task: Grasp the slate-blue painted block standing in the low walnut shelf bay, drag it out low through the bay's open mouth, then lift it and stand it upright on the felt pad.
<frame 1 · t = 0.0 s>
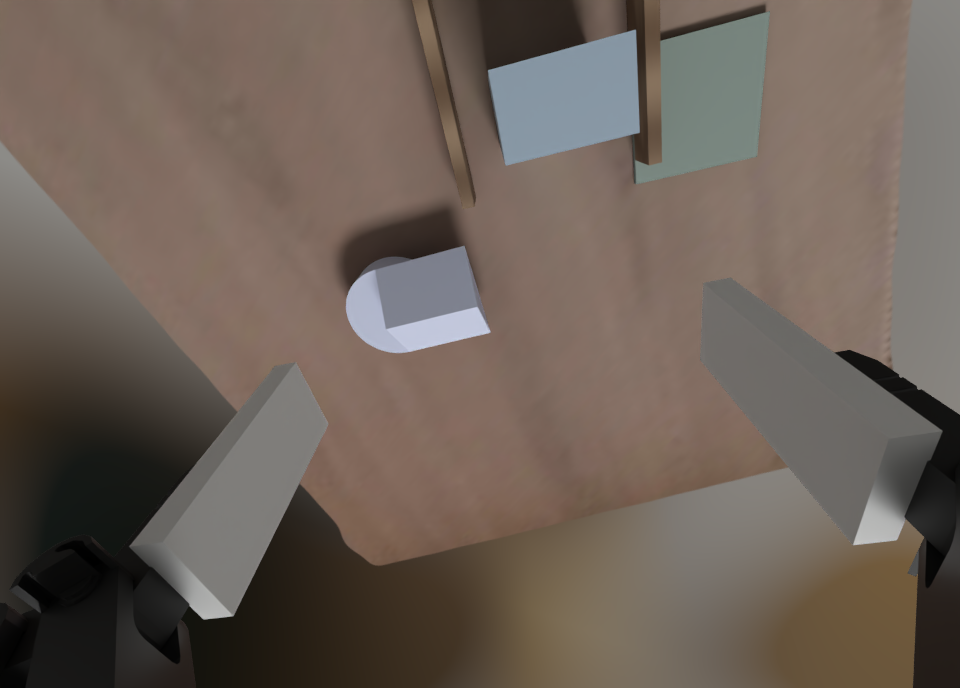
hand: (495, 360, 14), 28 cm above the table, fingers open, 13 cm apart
wedge on round base: (418, 293, 43), on the table
felt pad: (694, 105, 34), on the table
shelf bay: (538, 74, 33), on the table
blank: (542, 102, 34), on the table
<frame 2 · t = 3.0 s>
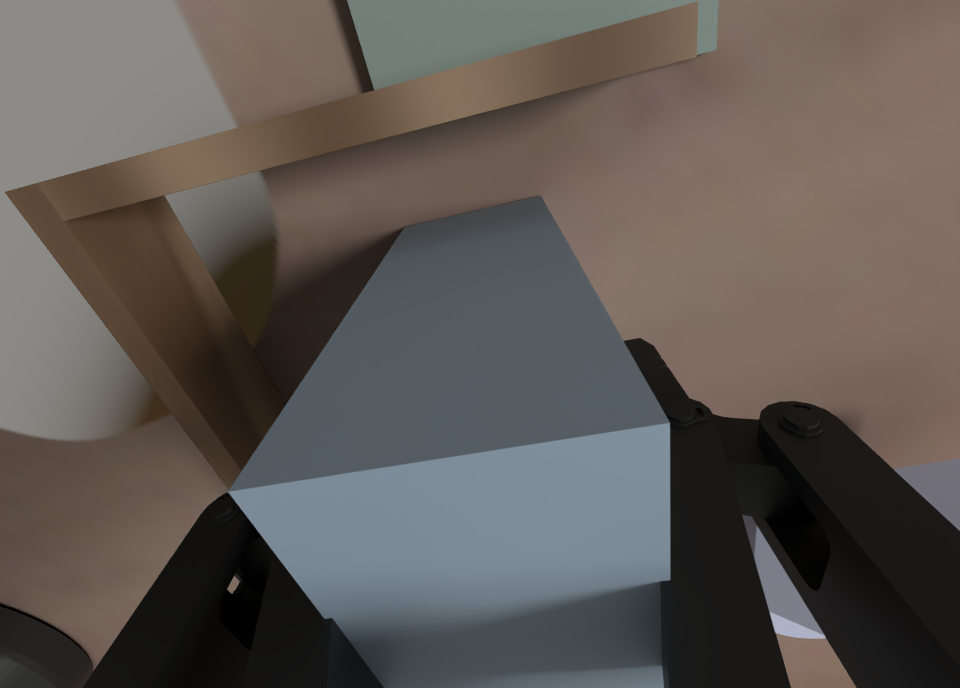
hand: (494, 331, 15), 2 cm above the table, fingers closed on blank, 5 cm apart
wedge on round base: (804, 504, 23), on the table
shelf bay: (446, 320, 17), on the table
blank: (494, 310, 17), on the table, touching gripper
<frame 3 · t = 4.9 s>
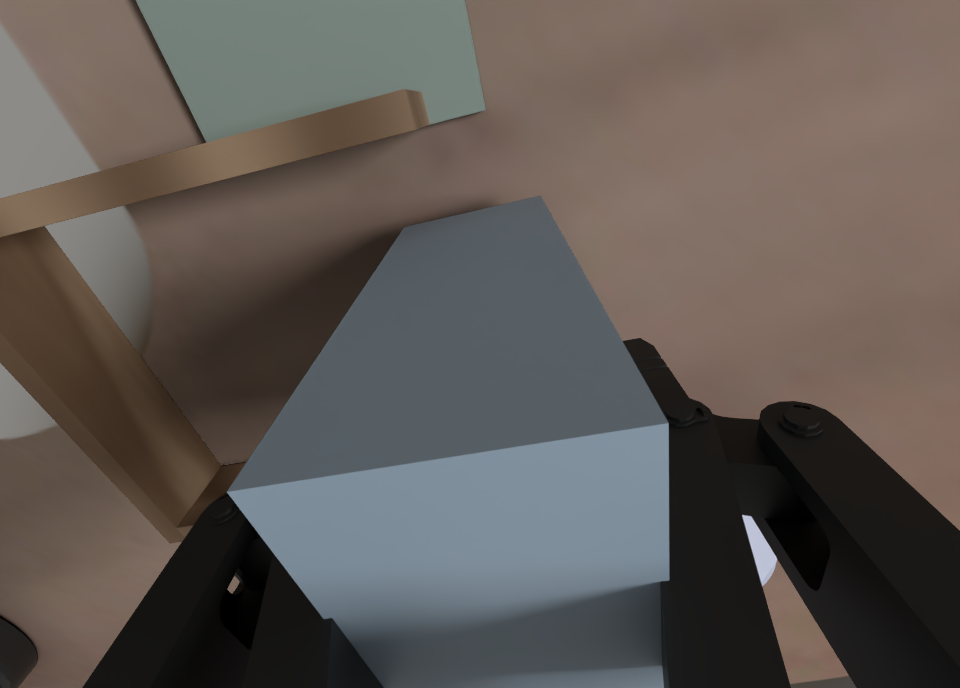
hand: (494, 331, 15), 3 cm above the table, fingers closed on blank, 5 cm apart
wedge on round base: (662, 496, 25), on the table
shelf bay: (307, 332, 19), on the table
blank: (493, 310, 17), point 2 cm above the table, touching gripper
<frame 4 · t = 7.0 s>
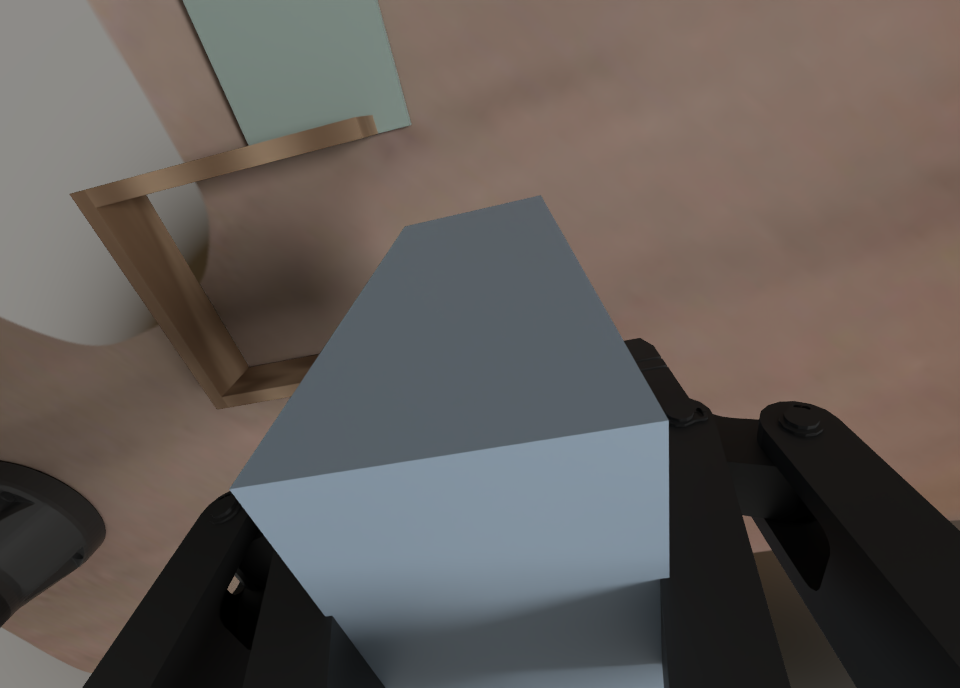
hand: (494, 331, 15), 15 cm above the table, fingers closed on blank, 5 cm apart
felt pad: (299, 48, 23), on the table
shelf bay: (307, 267, 30), on the table
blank: (494, 310, 17), point 13 cm above the table, touching gripper
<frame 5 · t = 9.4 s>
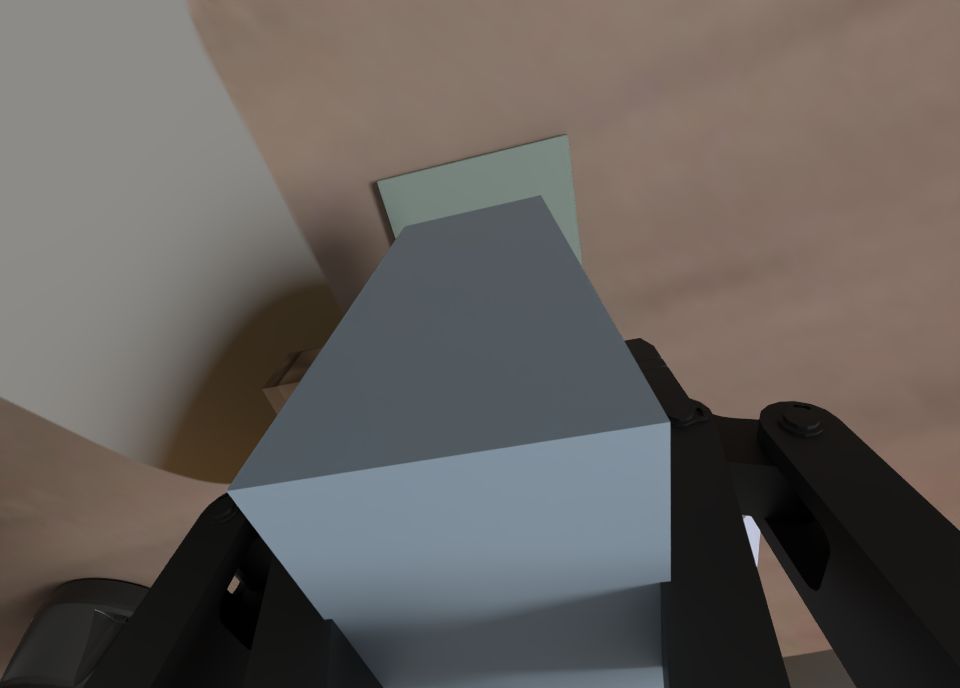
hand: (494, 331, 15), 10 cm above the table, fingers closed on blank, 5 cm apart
wedge on round base: (680, 520, 36), on the table
felt pad: (490, 249, 24), on the table
shelf bay: (457, 421, 31), on the table
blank: (494, 310, 17), point 8 cm above the table, touching gripper
when the fingers open (2 cm above the table, at t = 11.1 s): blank stays where it is, resting on felt pad.
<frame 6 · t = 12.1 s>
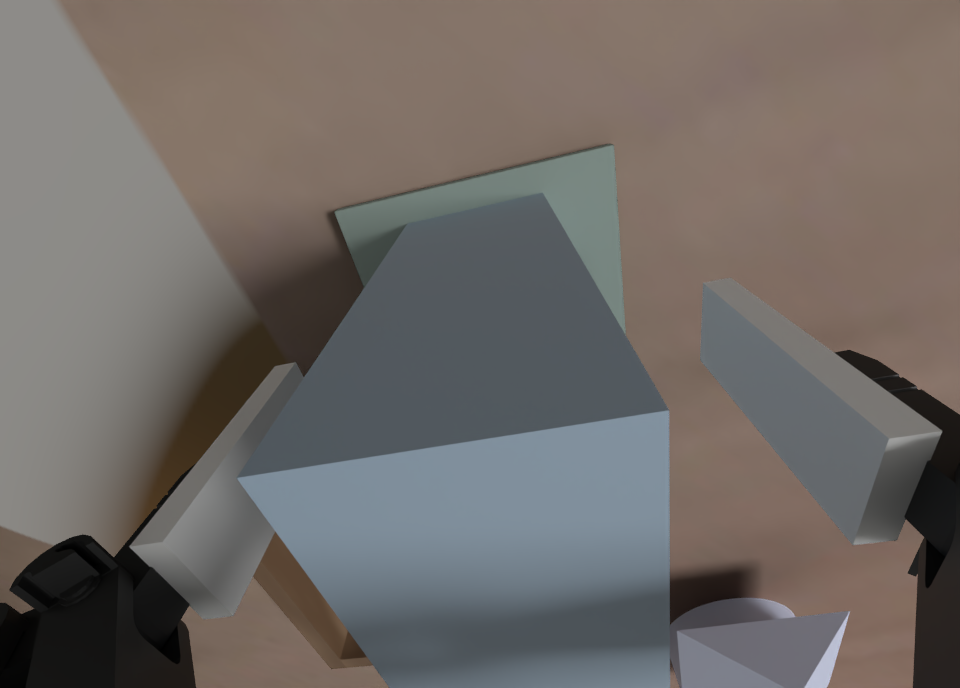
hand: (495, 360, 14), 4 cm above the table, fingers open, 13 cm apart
wedge on round base: (727, 614, 29), on the table
felt pad: (496, 302, 17), on the table
shelf bay: (453, 507, 24), on the table
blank: (496, 307, 17), resting on felt pad
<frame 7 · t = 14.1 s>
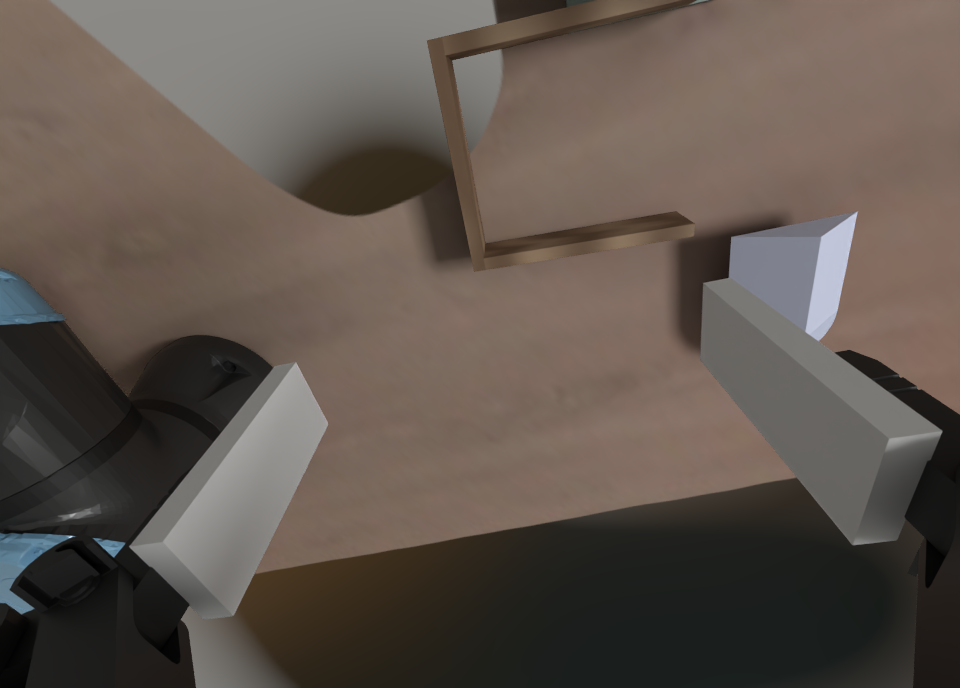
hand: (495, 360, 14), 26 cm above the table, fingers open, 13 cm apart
wedge on round base: (761, 283, 39), on the table
shelf bay: (575, 140, 33), on the table
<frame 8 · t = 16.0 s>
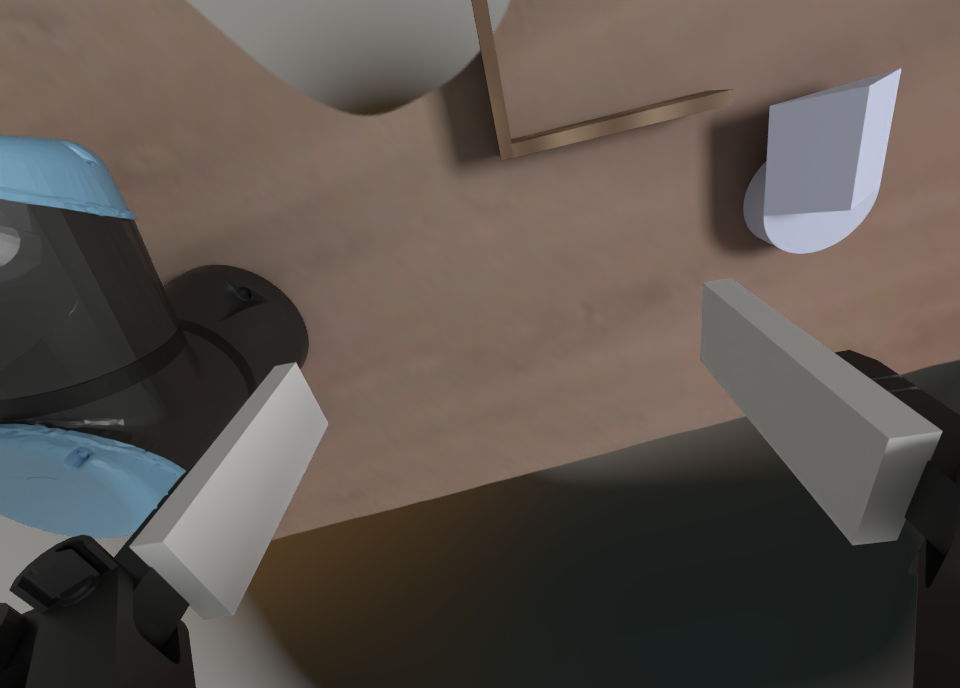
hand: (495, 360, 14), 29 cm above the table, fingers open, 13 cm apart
wedge on round base: (795, 170, 37), on the table
shelf bay: (602, 13, 32), on the table
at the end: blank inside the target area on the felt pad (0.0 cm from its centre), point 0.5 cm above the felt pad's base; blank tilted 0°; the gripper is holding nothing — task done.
